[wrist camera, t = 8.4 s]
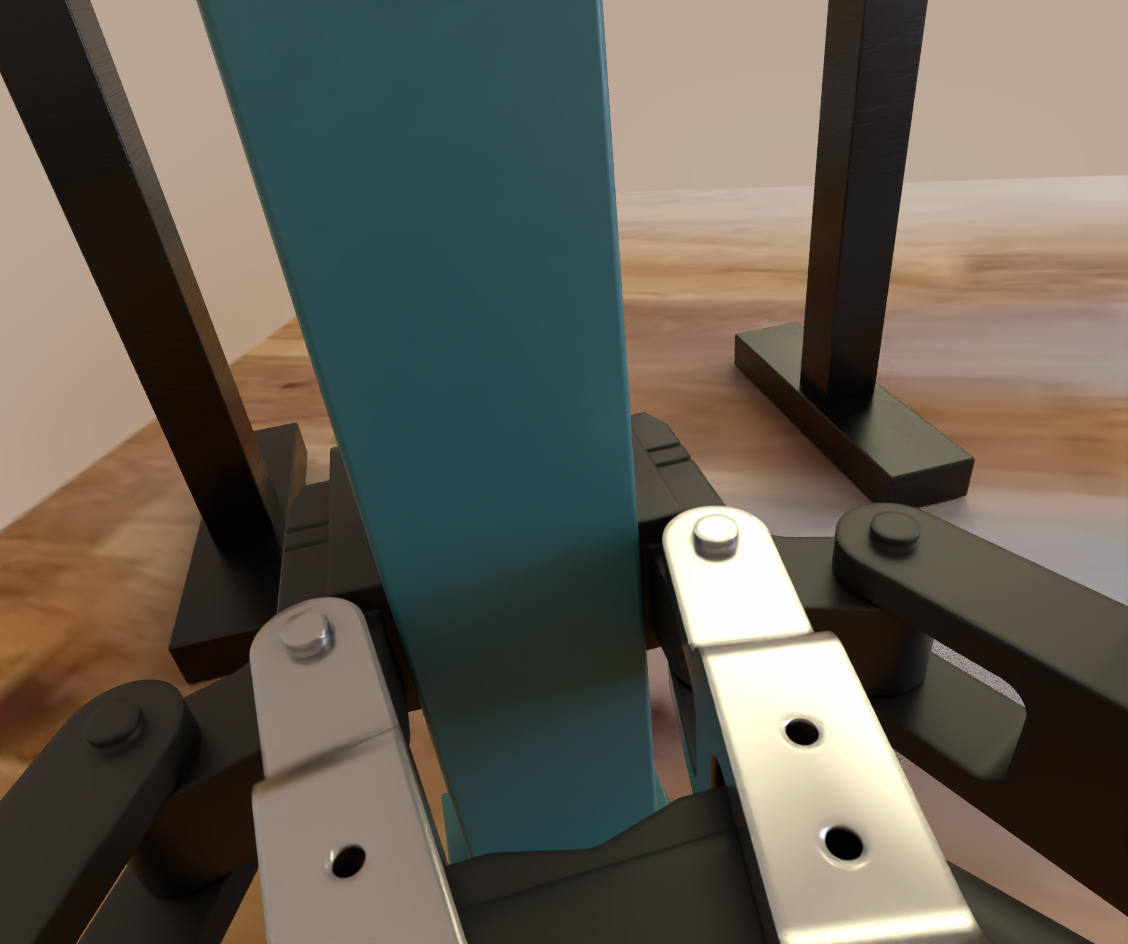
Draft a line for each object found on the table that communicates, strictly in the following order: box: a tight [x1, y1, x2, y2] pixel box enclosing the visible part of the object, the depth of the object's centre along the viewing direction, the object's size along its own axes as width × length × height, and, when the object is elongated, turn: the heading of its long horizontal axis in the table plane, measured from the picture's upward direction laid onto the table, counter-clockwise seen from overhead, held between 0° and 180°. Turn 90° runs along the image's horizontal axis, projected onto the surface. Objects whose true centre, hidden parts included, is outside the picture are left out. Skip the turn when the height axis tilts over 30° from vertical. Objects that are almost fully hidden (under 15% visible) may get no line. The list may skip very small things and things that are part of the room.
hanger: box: [196, 0, 669, 864], centre depth 12 cm, size 10×4×15 cm, turn 14°
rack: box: [0, 0, 975, 684], centre depth 23 cm, size 12×25×23 cm, turn 104°
